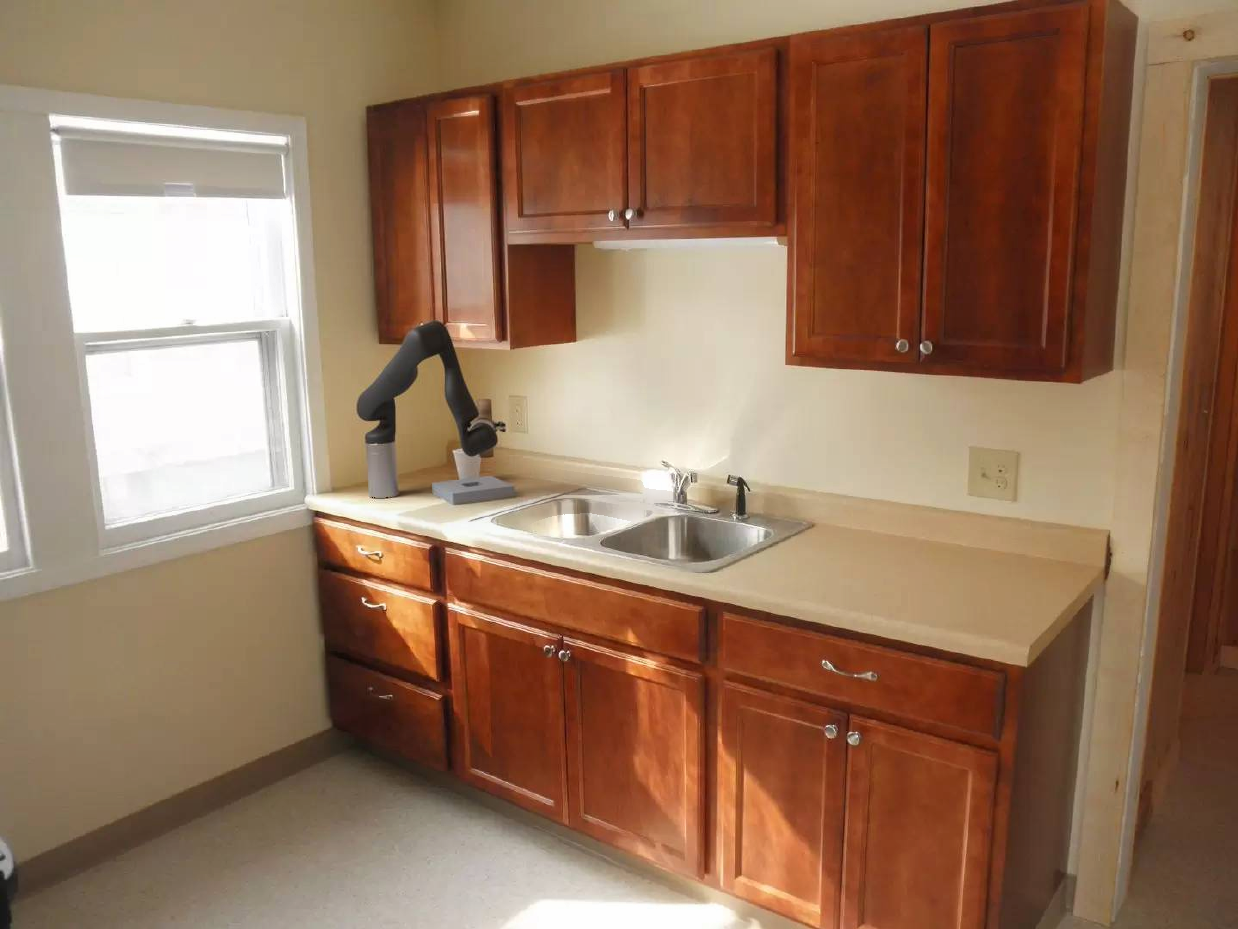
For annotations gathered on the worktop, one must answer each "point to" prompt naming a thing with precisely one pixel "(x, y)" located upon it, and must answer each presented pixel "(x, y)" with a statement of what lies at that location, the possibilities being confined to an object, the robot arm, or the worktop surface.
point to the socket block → (473, 489)
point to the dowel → (486, 412)
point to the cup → (467, 464)
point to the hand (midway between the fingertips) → (485, 424)
